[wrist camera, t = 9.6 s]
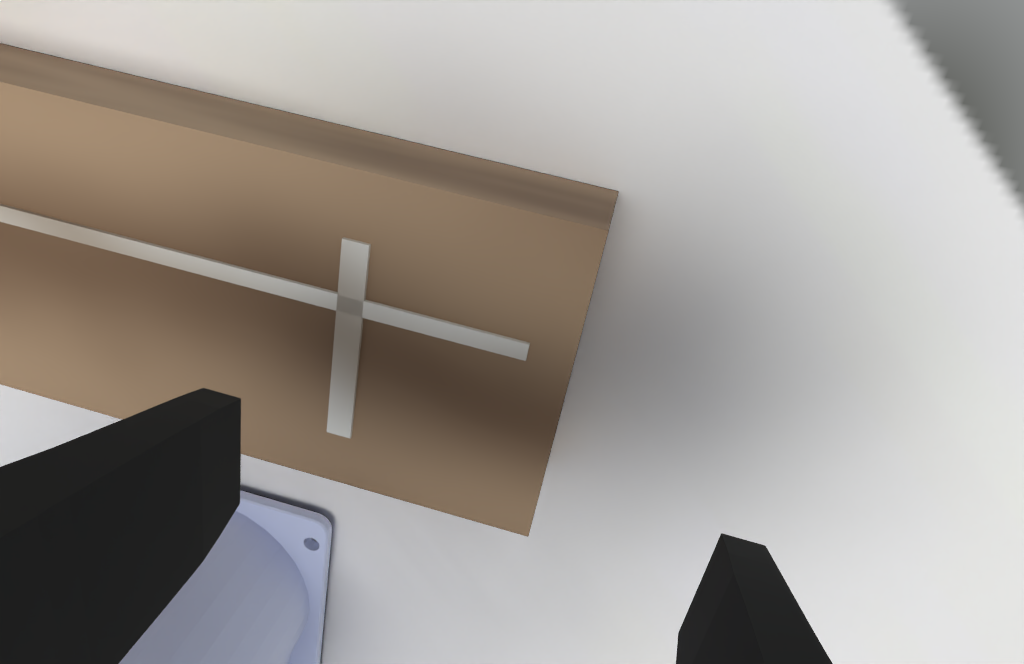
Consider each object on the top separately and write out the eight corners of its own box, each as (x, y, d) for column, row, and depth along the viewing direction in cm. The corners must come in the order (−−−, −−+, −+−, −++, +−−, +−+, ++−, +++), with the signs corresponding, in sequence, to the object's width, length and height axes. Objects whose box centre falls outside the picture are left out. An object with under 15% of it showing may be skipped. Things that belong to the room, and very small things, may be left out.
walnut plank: (546, 464, 20) (527, 539, 17) (-197, 257, 22) (-317, 295, 20) (618, 191, 16) (608, 232, 14) (-280, -24, 19) (-444, -26, 16)
